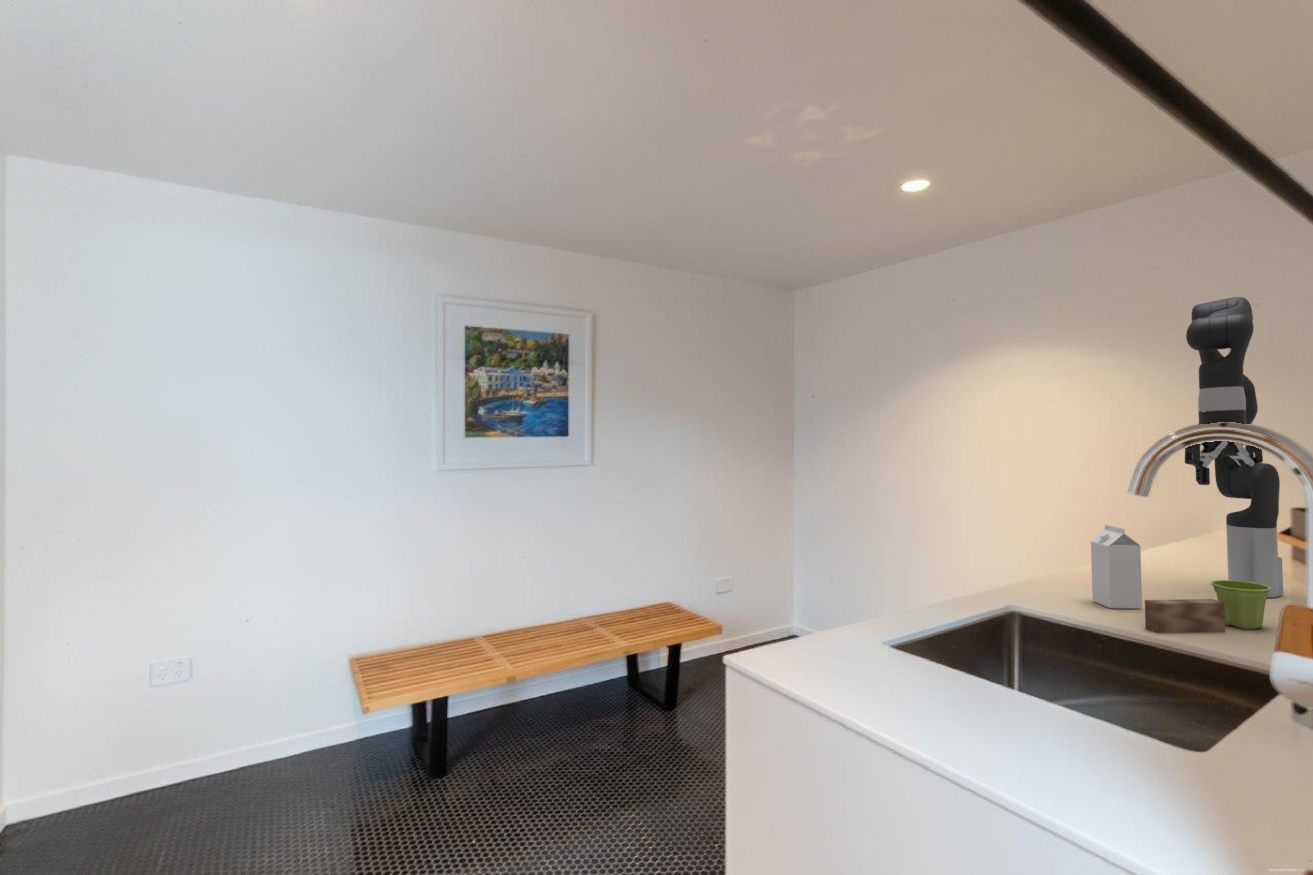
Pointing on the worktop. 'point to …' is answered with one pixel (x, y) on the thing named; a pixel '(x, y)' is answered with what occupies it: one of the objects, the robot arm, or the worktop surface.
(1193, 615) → the brown block
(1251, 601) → the plant pot
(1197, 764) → the worktop surface
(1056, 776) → the worktop surface
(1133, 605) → the milk carton
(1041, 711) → the worktop surface
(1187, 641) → the worktop surface
